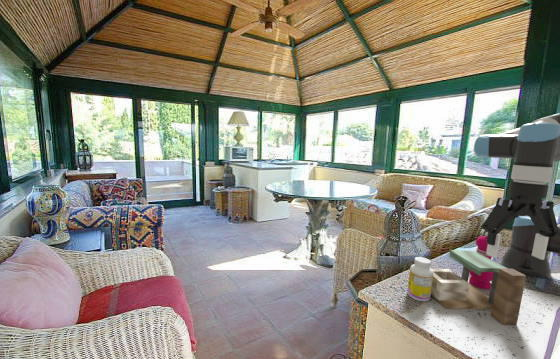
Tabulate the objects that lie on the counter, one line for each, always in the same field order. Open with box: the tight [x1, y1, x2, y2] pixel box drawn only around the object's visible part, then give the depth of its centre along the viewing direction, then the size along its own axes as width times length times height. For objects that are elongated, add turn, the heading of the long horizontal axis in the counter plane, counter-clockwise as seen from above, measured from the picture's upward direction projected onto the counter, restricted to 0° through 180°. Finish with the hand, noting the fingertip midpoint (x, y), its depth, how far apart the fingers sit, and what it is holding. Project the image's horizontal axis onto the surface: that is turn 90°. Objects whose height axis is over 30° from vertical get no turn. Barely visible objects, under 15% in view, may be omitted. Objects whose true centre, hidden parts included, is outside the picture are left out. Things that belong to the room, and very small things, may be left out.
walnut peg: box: [490, 268, 527, 326], centre depth 72 cm, size 4×4×15 cm
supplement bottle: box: [407, 256, 433, 302], centre depth 83 cm, size 7×7×13 cm
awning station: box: [430, 249, 508, 310], centre depth 84 cm, size 19×14×13 cm
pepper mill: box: [468, 231, 493, 290], centre depth 91 cm, size 7×7×20 cm
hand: (514, 256), depth 71 cm, fingers open, 13 cm apart
